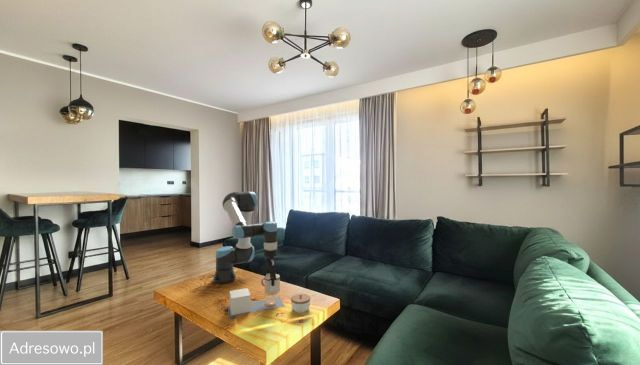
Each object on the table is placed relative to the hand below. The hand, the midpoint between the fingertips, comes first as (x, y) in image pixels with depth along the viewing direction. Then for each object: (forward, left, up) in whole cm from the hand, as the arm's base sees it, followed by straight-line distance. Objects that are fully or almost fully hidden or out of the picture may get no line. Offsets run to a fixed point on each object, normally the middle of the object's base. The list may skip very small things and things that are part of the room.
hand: (270, 287), depth 152 cm
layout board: (0, -8, -10) cm, 13 cm away
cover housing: (0, -17, -9) cm, 19 cm away
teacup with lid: (-1, 0, -3) cm, 3 cm away
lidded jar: (+13, +14, -11) cm, 22 cm away
